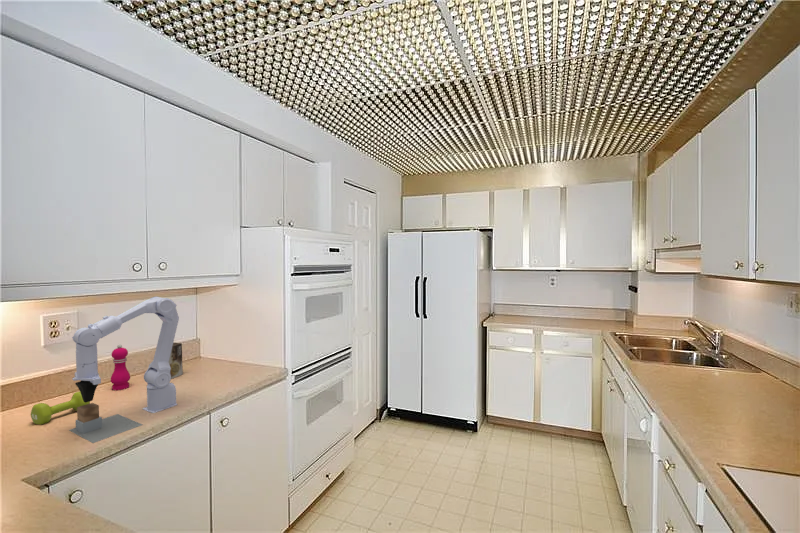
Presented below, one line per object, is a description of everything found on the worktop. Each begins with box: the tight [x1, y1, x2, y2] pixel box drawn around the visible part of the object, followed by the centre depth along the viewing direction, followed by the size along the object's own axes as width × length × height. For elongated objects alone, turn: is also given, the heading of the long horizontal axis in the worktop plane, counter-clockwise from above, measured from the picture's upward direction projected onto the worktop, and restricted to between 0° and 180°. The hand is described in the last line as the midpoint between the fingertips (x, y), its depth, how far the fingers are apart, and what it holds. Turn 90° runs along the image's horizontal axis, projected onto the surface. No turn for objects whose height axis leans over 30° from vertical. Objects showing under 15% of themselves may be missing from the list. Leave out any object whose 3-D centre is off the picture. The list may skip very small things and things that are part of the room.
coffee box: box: [169, 342, 184, 380], centre depth 188 cm, size 9×6×16 cm
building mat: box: [68, 413, 144, 444], centre depth 134 cm, size 15×18×1 cm
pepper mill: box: [110, 344, 131, 391], centre depth 173 cm, size 7×7×20 cm
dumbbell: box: [30, 390, 91, 425], centre depth 143 cm, size 16×8×7 cm, turn 158°
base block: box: [75, 416, 103, 434], centre depth 133 cm, size 6×6×4 cm
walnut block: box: [76, 402, 100, 423], centre depth 132 cm, size 4×4×4 cm
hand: (88, 401), depth 132 cm, fingers closed
